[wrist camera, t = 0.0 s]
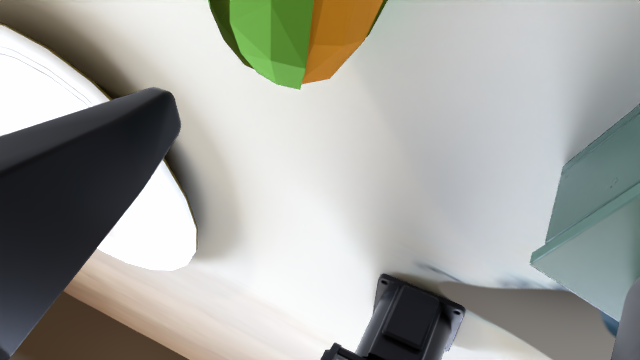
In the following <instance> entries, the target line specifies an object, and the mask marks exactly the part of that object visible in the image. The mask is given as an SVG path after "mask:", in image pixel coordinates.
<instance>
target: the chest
mask: <svg viewBox="0 0 640 360" xmlns="http://www.w3.org/2000/svg"><path fill="white" fill-rule="evenodd" d="M638 183H640V105H638V106H637V107H636V108H635V109H634V110H632V111H631V112H630V113H629V114H627V115H626V116H625V117H624V118H622V119H621V120H620V121H619V122H617V123H616V124H615V125H614V126H612V127H611V128H610V129H609V130H607V131H606V132H605V133H604V134H603V135H601V136H600V137H599V138H598V139H596V140H595V141H594V142H593V143H591V144H590V145H589V146H588V147H586V148H585V149H584V150H583V151H581V152H580V153H579V154H578V155H576V156H575V157H574V158H573V159H572V160H570V161H569V162H568V163H567V164H565V165H564V166H563V168H562V172H561V177H560V181H559V186H558V190H557V194H556V198H555V203H554V207H553V211H552V215H551V219H550V224H549V228H548V232H547V236H546V241H545V244H547V243H548V242H550V241H551V240H553V239H554V238H556V237H557V236H559V235H561V234H562V233H564V232H565V231H567V230H568V229H570V228H571V227H573V226H574V225H576V224H577V223H579V222H580V221H582V220H583V219H585V218H587V217H588V216H590V215H591V214H593V213H594V212H596V211H597V210H599V209H600V208H602V207H603V206H605V205H606V204H608V203H609V202H611V201H612V200H614V199H616V198H617V197H619V196H620V195H622V194H623V193H625V192H626V191H628V190H629V189H631V188H632V187H634V186H635V185H637V184H638Z"/></svg>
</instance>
